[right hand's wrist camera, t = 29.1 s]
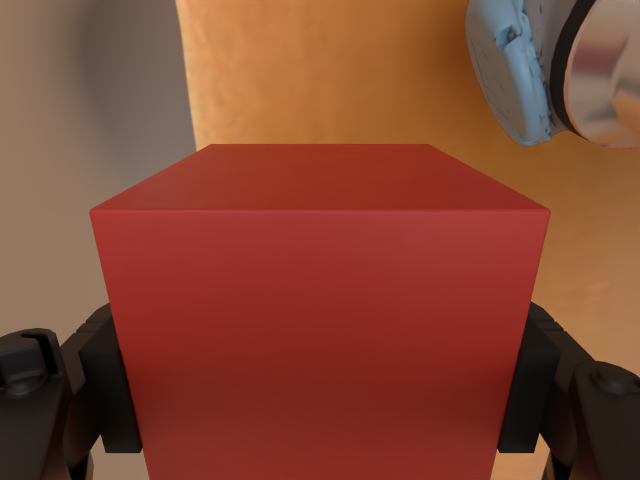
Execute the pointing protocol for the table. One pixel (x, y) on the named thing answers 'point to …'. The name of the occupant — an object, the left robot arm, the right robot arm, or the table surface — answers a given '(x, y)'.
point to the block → (319, 311)
